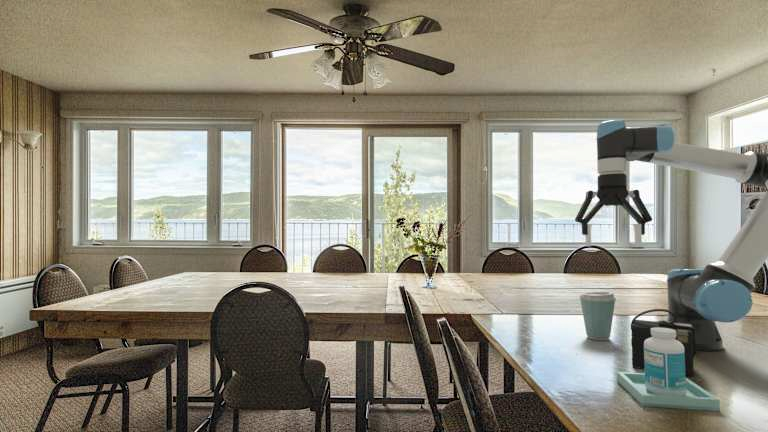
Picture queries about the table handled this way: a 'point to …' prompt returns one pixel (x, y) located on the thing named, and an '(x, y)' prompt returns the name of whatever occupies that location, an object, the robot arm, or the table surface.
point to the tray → (691, 400)
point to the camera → (643, 332)
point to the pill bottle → (664, 363)
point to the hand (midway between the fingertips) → (613, 246)
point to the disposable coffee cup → (598, 314)
